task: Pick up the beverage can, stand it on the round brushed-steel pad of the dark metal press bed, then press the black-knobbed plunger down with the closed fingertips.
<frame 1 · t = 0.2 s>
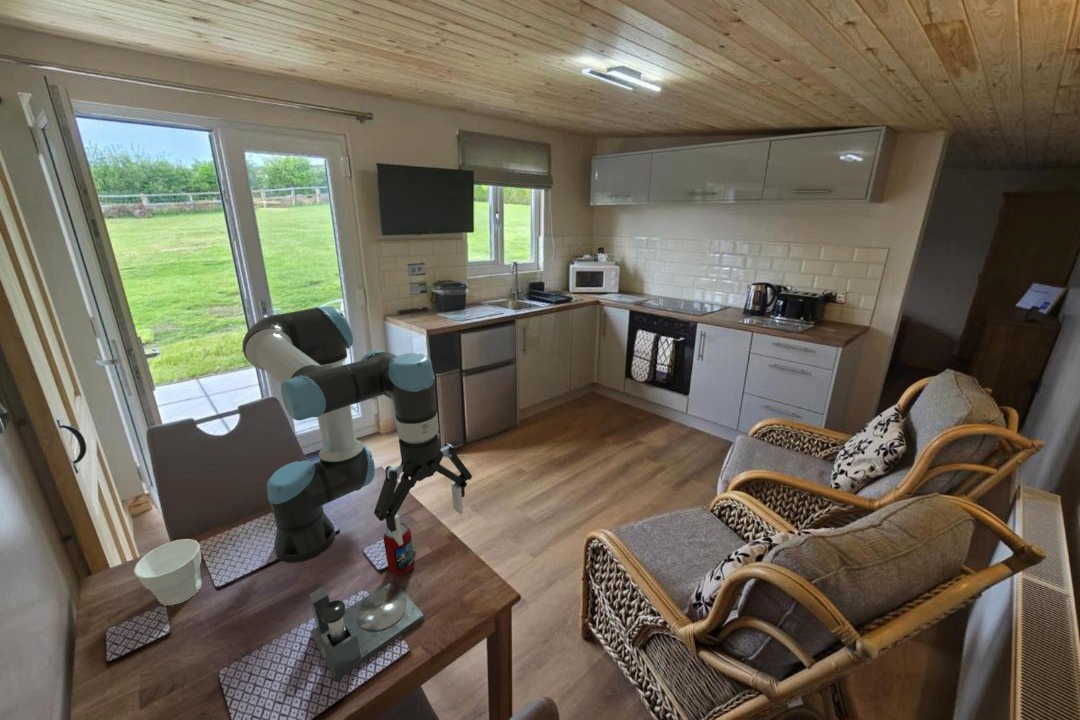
hand: (429, 525, 93), 27 cm above the table, fingers open, 13 cm apart
press: (368, 627, 101), on the table
cup: (181, 593, 111), on the table
plunger: (336, 626, 90), point 10 cm above the table, slide at 0.0 cm
beverage can: (402, 567, 118), on the table
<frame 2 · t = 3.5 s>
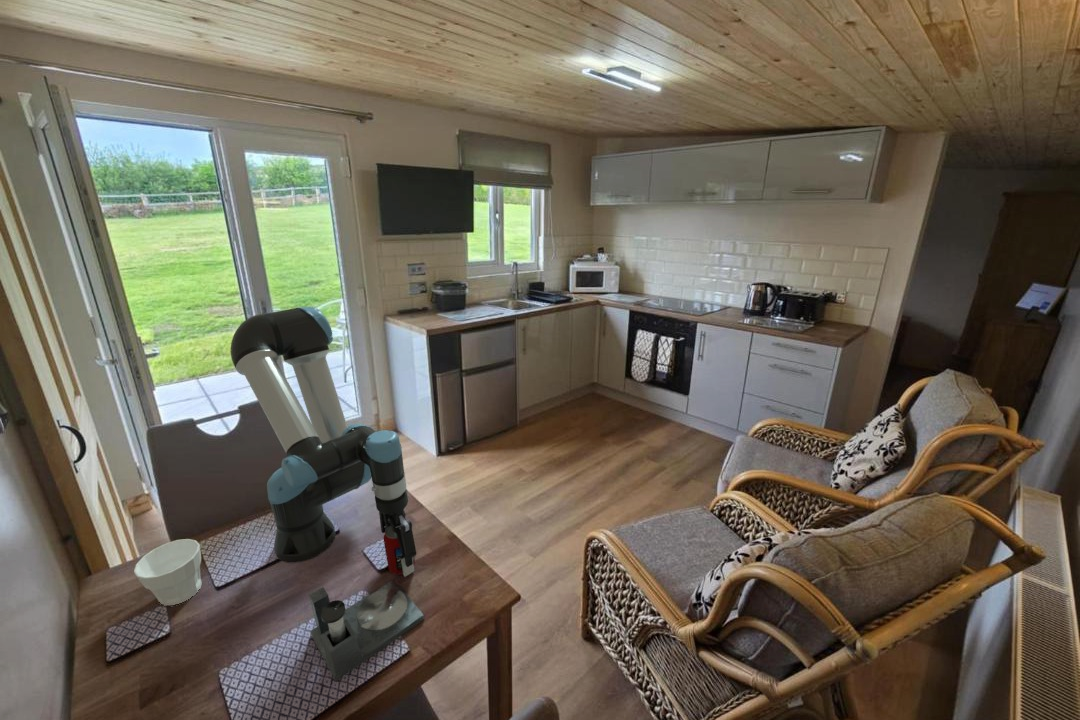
hand: (401, 565, 117), 1 cm above the table, fingers closed on beverage can, 7 cm apart
beverage can: (402, 567, 118), on the table, touching gripper
everything else where it was.
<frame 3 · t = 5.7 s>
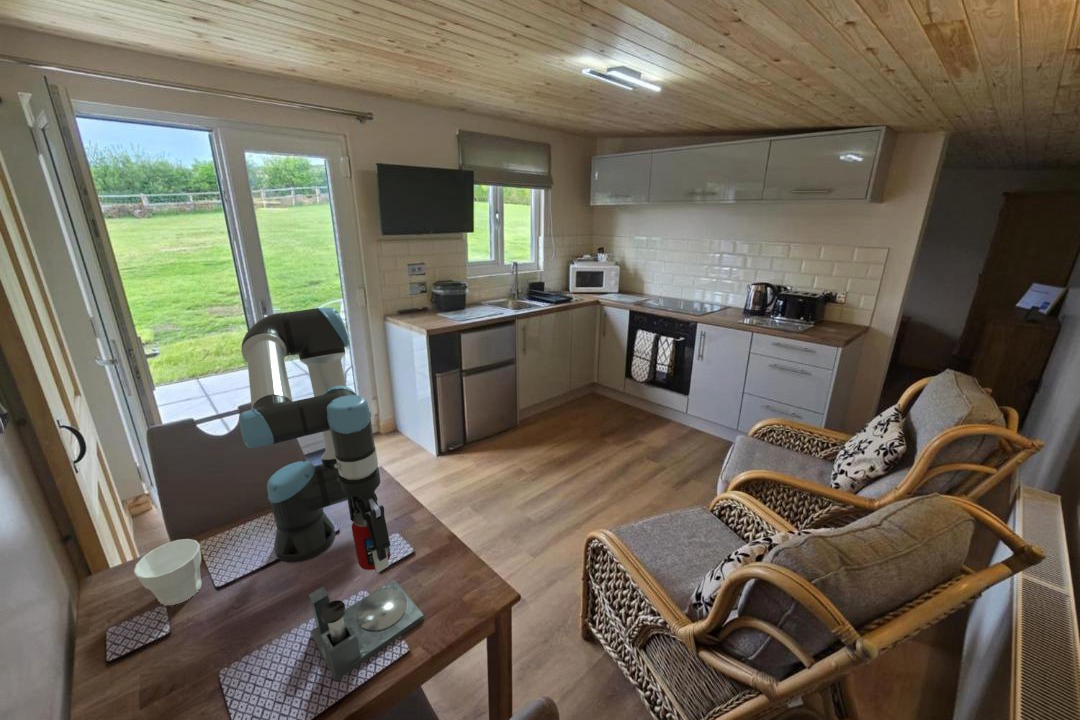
hand: (374, 559, 99), 16 cm above the table, fingers closed on beverage can, 7 cm apart
beverage can: (375, 561, 99), point 15 cm above the table, touching gripper
everything else where it was.
when the fingers open (4 cm above the table, at t = 8.3 s): beverage can drops 1 cm, resting on press.
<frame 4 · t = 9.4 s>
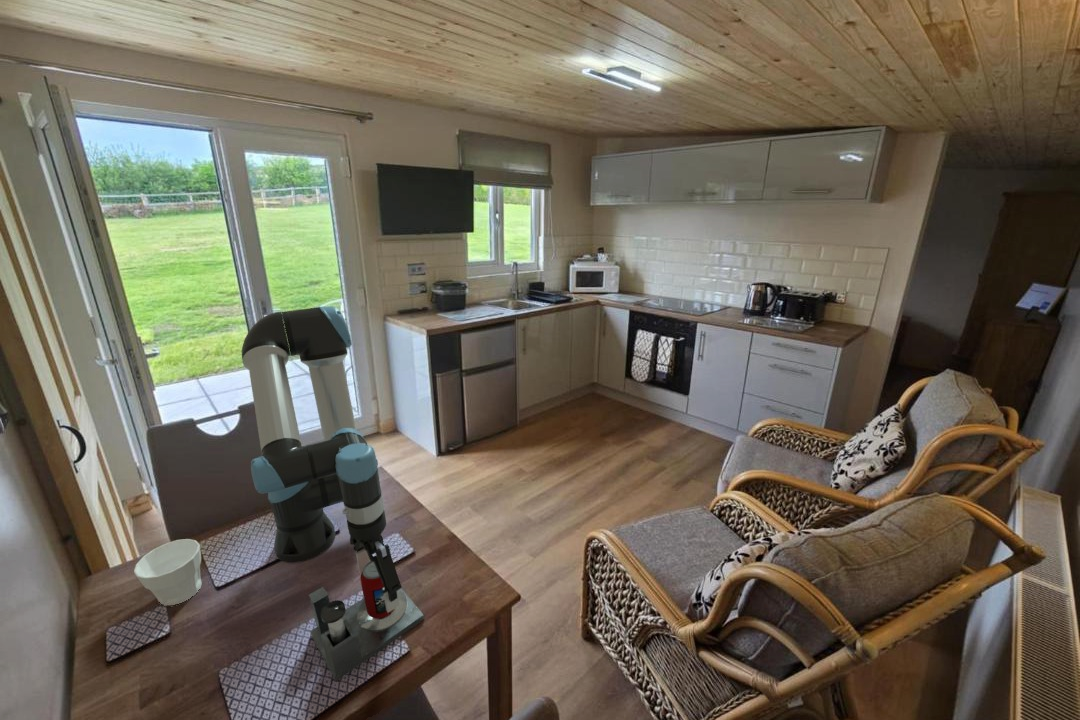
hand: (378, 589, 102), 7 cm above the table, fingers open, 13 cm apart
beverage can: (382, 608, 104), point 2 cm above the table, touching press
everything else where it was.
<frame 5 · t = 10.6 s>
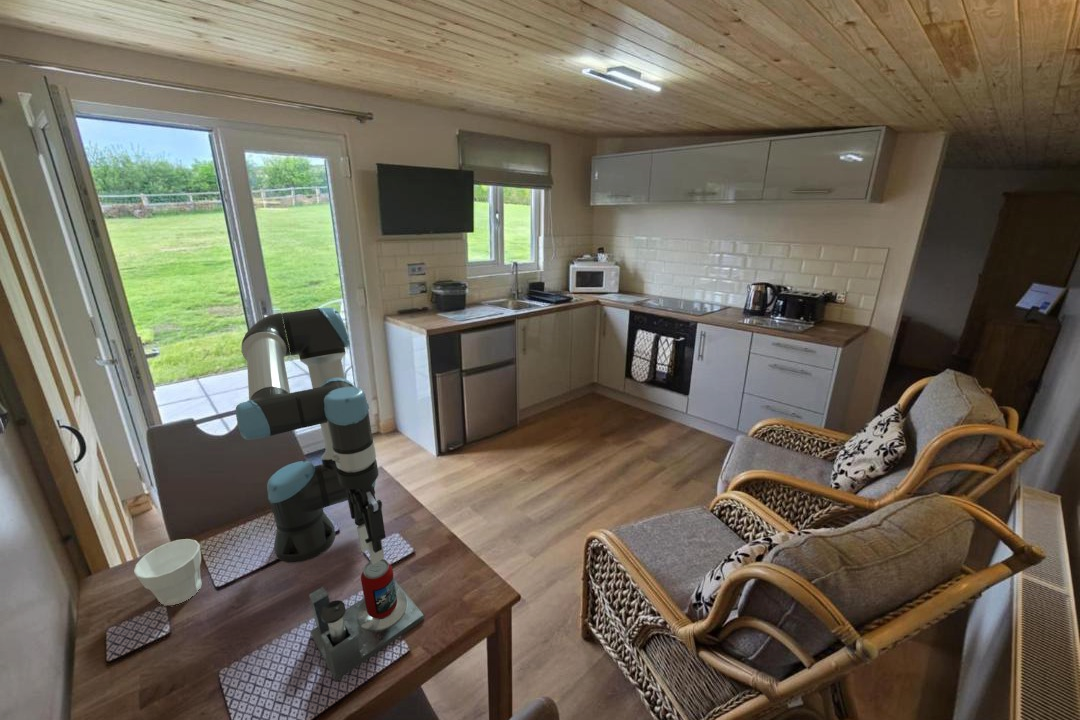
hand: (372, 554, 98), 18 cm above the table, fingers open, 4 cm apart
nothing on the table moved.
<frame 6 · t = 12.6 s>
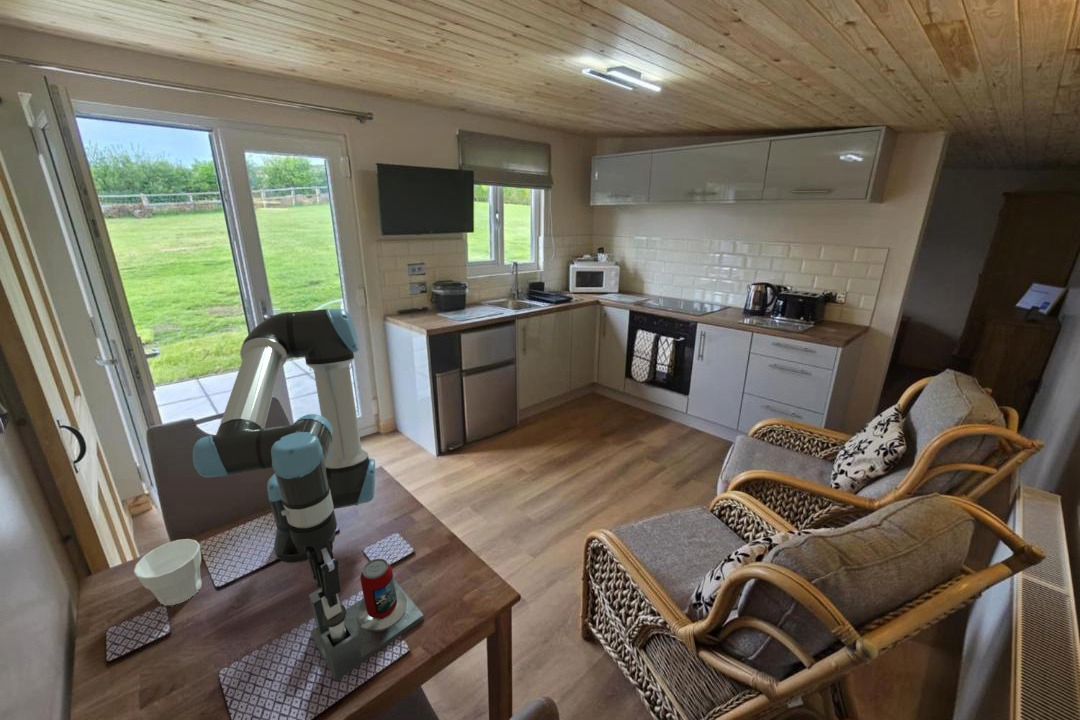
hand: (333, 613, 89), 14 cm above the table, fingers closed
plunger: (337, 630, 91), point 9 cm above the table, slide at 1.1 cm, touching gripper
everything else where it was.
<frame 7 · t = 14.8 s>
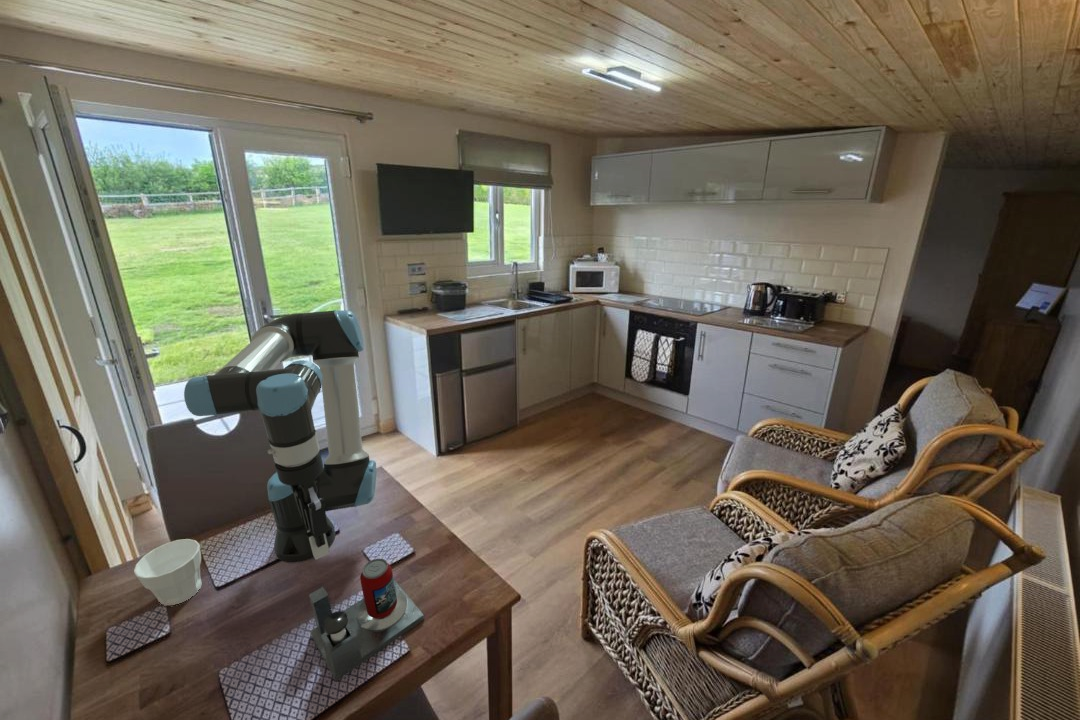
hand: (321, 554, 91), 23 cm above the table, fingers closed
plunger: (339, 636, 91), point 7 cm above the table, slide at 3.0 cm
everything else where it was.
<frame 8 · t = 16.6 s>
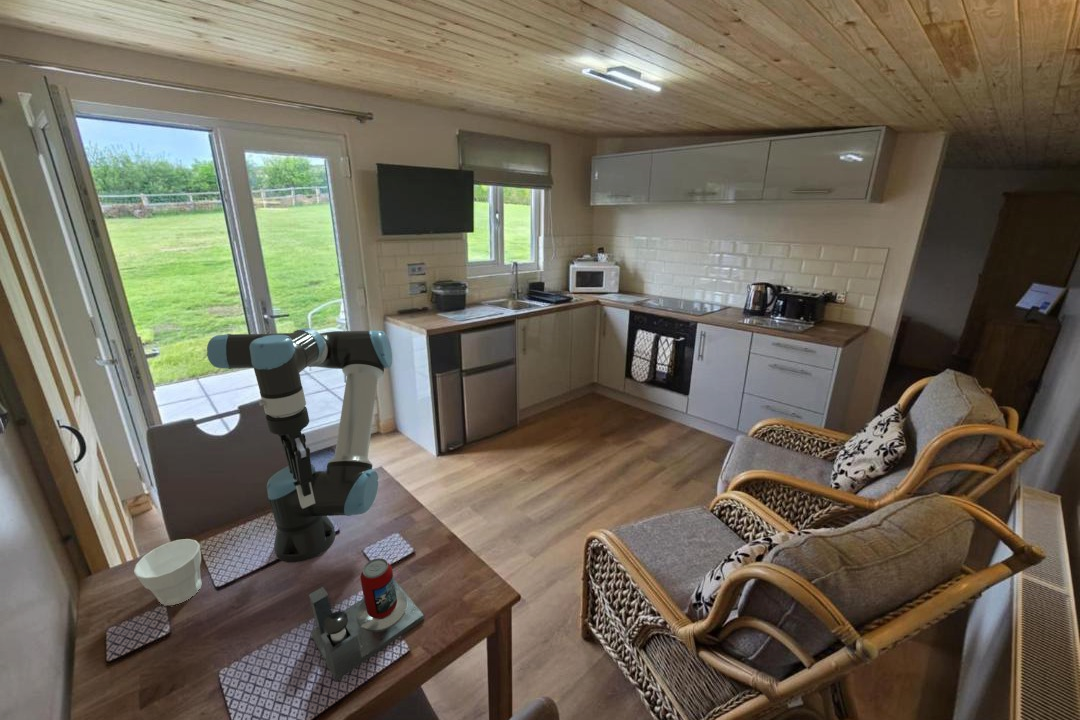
hand: (307, 504, 101), 26 cm above the table, fingers closed
nothing on the table moved.
at the end: beverage can inside the target area (0.1 cm from its centre), point 1.6 cm above the table; beverage can tilted 0°; plunger slide at 3.0 cm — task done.
